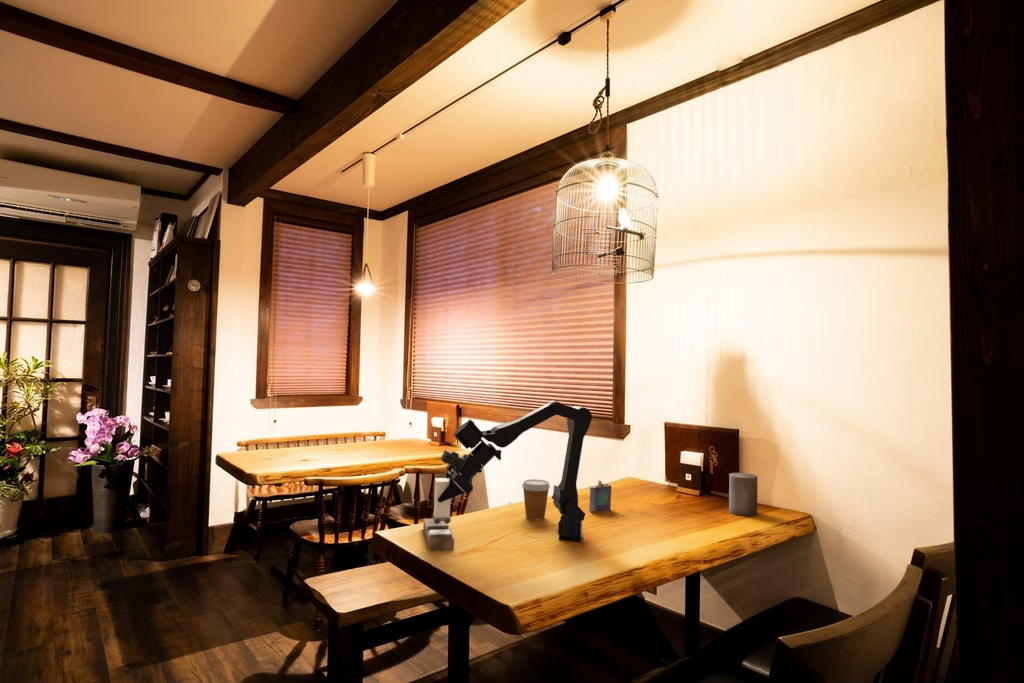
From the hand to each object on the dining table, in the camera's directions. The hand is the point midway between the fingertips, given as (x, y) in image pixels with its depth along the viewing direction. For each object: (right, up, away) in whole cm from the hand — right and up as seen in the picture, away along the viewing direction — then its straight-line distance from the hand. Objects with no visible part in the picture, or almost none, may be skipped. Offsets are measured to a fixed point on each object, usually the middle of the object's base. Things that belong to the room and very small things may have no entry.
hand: (437, 499), depth 164 cm
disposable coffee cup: (+29, -15, +30) cm, 45 cm away
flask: (+53, -16, +41) cm, 69 cm away
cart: (+1, -7, 0) cm, 7 cm away
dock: (-1, -13, +5) cm, 14 cm away
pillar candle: (+105, -17, +44) cm, 115 cm away
